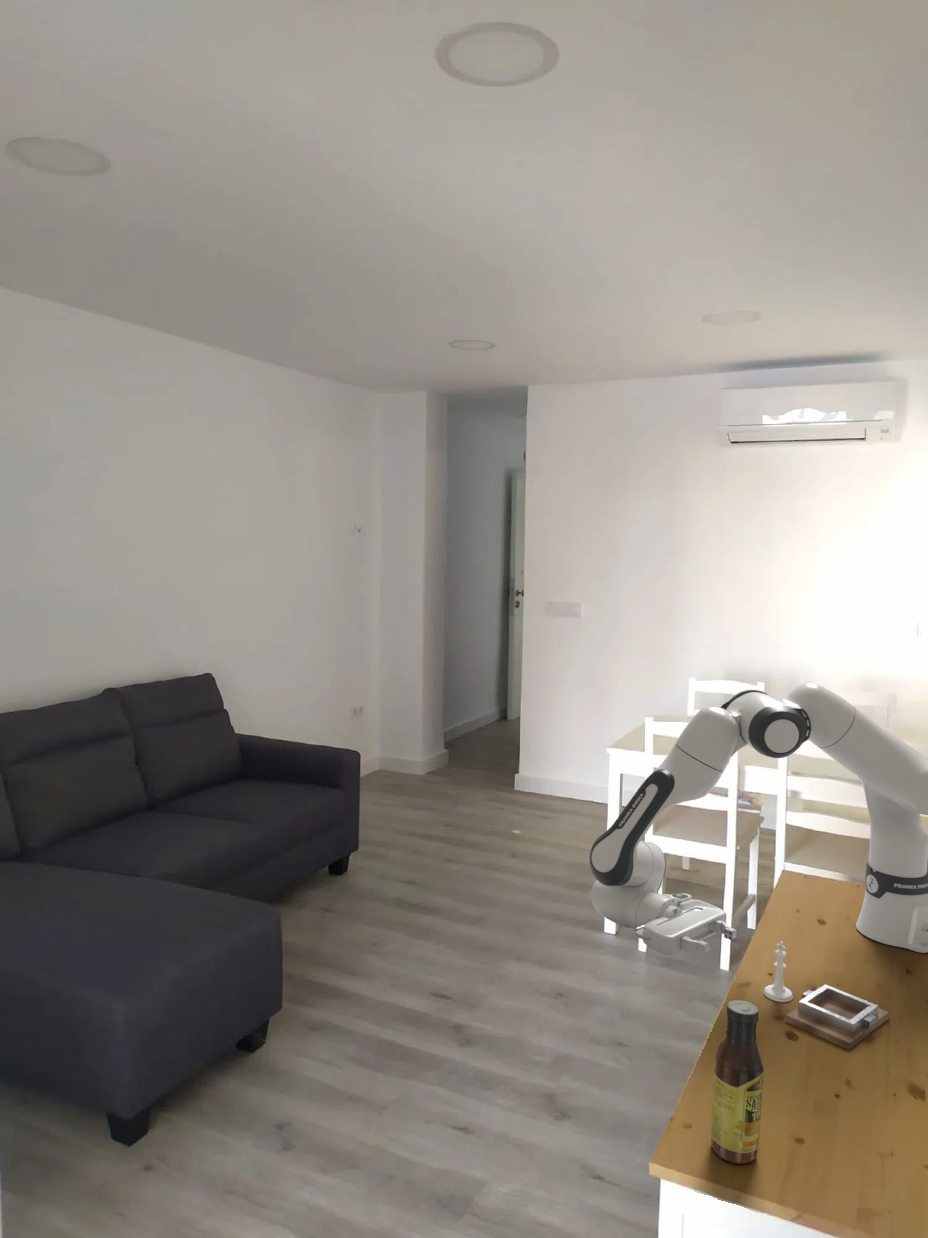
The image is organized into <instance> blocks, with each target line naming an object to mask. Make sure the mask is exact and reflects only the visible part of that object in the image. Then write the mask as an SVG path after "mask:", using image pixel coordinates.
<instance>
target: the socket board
mask: <svg viewBox="0 0 928 1238" xmlns="http://www.w3.org/2000/svg"><path fill="white" fill-rule="evenodd" d="M816 1006H818V1007H821V1008H823V1009H825V1010H828V1011H830V1012H833V1013H835V1014H837V1015H840V1016H842V1017H845V1018H847V1019H849V1020H851V1019H852V1018H853V1017H855V1016H856V1015H857V1014H859V1013H860V1011H858V1010H855V1009H853V1008H851V1007H848V1006H846V1005H843V1004H841V1003H838V1002H836V1001H833V1000H831V999H829V998H826V999H825V1000H823V1001H822V1002H820V1003H819V1004H817V1005H816ZM889 1017H890V1012H889V1011H887V1010H884V1009H882V1008H880V1007H878V1016H877V1017H876V1023H875V1024H873V1025H872V1026H871V1027H870V1028H869V1027H867V1026H864V1027H862V1028H861V1029H860V1030H858V1031H857V1032H856V1033H855V1034H853V1035H852V1034H849V1033H847V1032H845V1031H843V1030H840V1029H838V1028H836V1027H833V1026H831V1025H829V1024H826V1023H824V1022H822V1021H819V1020H817V1019H815V1018H812V1017H810V1016H808V1015H805V1014H803V1013H801V1012H798V1006H797V1007H796V1008H794V1009H793V1010H791V1011H789V1012H788V1013H786V1014H785V1022H786V1023H788V1024H790V1025H792V1026H794V1027H797V1028H799V1029H801V1030H803V1031H806V1032H808V1033H811V1034H813V1035H814V1036H817V1037H820V1039H821V1038H822V1039H824V1040H826V1041H829V1042H830V1043H832V1044H835V1045H838V1046H839V1047H841V1048H844V1049H847V1050H851V1049H853V1048H854V1046H856V1045H857V1044H859V1043H860V1042H861V1041H862V1040H864V1039H865V1038H867V1036H869V1035H870V1034H871V1033H873V1032H874V1031H875V1030H876V1029H878V1028H879V1027H880V1026H881V1025H883V1024H884V1023H886V1022H887V1021H888V1020H889Z"/></svg>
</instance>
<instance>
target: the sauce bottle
mask: <svg viewBox="0 0 928 1238" xmlns="http://www.w3.org/2000/svg"><path fill="white" fill-rule="evenodd" d="M758 1008H759V1007H757V1006H756V1005H754V1004H753V1003H751V1002H749V1001H746V1000H742V999H737V1000H731V1001H728V1003H727V1005H726V1016H727V1021H726V1023H727V1025H726V1031H725V1036H726V1037H725V1039H723V1041H721V1042H720V1044H719V1045H718V1047H717V1049H716V1054H715V1068H714V1074H713V1088H712V1089H713V1090H712V1103H711V1104H712V1105H711V1124H710V1136H711V1138H710V1139H711V1140H710V1142H711V1147H712V1149H713V1151H714V1153H715V1154H716V1155H717V1157H718V1156H719V1158H720V1159H722V1160H724V1161H728V1162H729V1163H732V1164H736V1165H739V1164H749V1163H750V1162H751V1163H752V1162H753V1161H754V1160H755V1159H756V1158H757V1156H758V1149H759V1147H760V1139H761V1138H760V1137H761V1123H762V1105H763V1092H764V1088H763V1087H764V1077H765V1076H764V1075H765V1074H764V1073H765V1068H764V1064H763V1061H762V1057H761V1054H760V1051H759V1048H758V1047H759V1046H758V1043H757V1040H758V1039H757V1024H758V1021H759V1009H758Z"/></svg>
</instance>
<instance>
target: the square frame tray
mask: <svg viewBox="0 0 928 1238" xmlns="http://www.w3.org/2000/svg"><path fill="white" fill-rule="evenodd" d="M801 995H802V997H801V999H800V1000H799V1001H798V1006H797V1007H798V1012H801V1013H803V1014H805V1015H808V1016H810V1017H812V1018H815V1019H817V1020H819V1021H822V1022H824V1023H826V1024H829V1025H831V1026H833V1027H836V1028H838V1029H840V1030H843V1031H845V1032H847V1033H849V1034H852V1035H853V1034H855V1033H856V1032H857V1031H858V1030H860V1029H861V1028H862V1027H864V1026H867V1027H869V1028H870V1027H871V1026H872V1025H873V1024H875V1023H876V1017H877V1016H878V1008H879V1004H875V1003H873V1002H870V1001H868V1000H865V999H863V998H860V997H858V996H855V995H852V994H850V993H848V992H845V991H843V990H840V989H838V988H835V987H832V986H830V985H828V984H827V983H825V984H823V985H821V986H820V987H818V988H817V989H815V990H812V989H808V990H806V991H804V992H803V993H802V994H801ZM826 998H829V999H831V1000H833V1001H836V1002H838V1003H841V1004H843V1005H846V1006H848V1007H851V1008H853V1009H855V1010H858V1011H860V1013H859V1014H857V1015H856V1016H855V1017H853V1018H852V1019H851V1020H849V1019H847V1018H845V1017H842V1016H840V1015H837V1014H835V1013H833V1012H830V1011H828V1010H825V1009H823V1008H821V1007H818V1006H816V1005H817V1004H819V1003H820V1002H822V1001H823V1000H825V999H826Z"/></svg>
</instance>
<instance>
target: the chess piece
mask: <svg viewBox="0 0 928 1238" xmlns="http://www.w3.org/2000/svg"><path fill="white" fill-rule="evenodd" d="M776 946H777V947H778V949H776V950H774V955H775V958H776V961H775V962H774V963H773V966H774V967H775V968H776V972H775V977H774V982H773V983H772V984H769V985H767V986H765V987H764V989H763V990H764V991H763V994H764V995H765V997H766V998H768V999H769V1000H772V1001H775V1002H778V1003H779V1002H780V1003H787V1002H790V1001H792V1000H793V992H792V991H791V990H790V989H789V988H787V987H786V986H785V985H784V973H783V972H784V969H787V965H786V964H785V963H784V962H785V960H786V957H787V955H788V954H787V952H786V951H785V950H786V949H787V947H786V946H785V945H784V941H782V940H781V941H779V943H776Z"/></svg>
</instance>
